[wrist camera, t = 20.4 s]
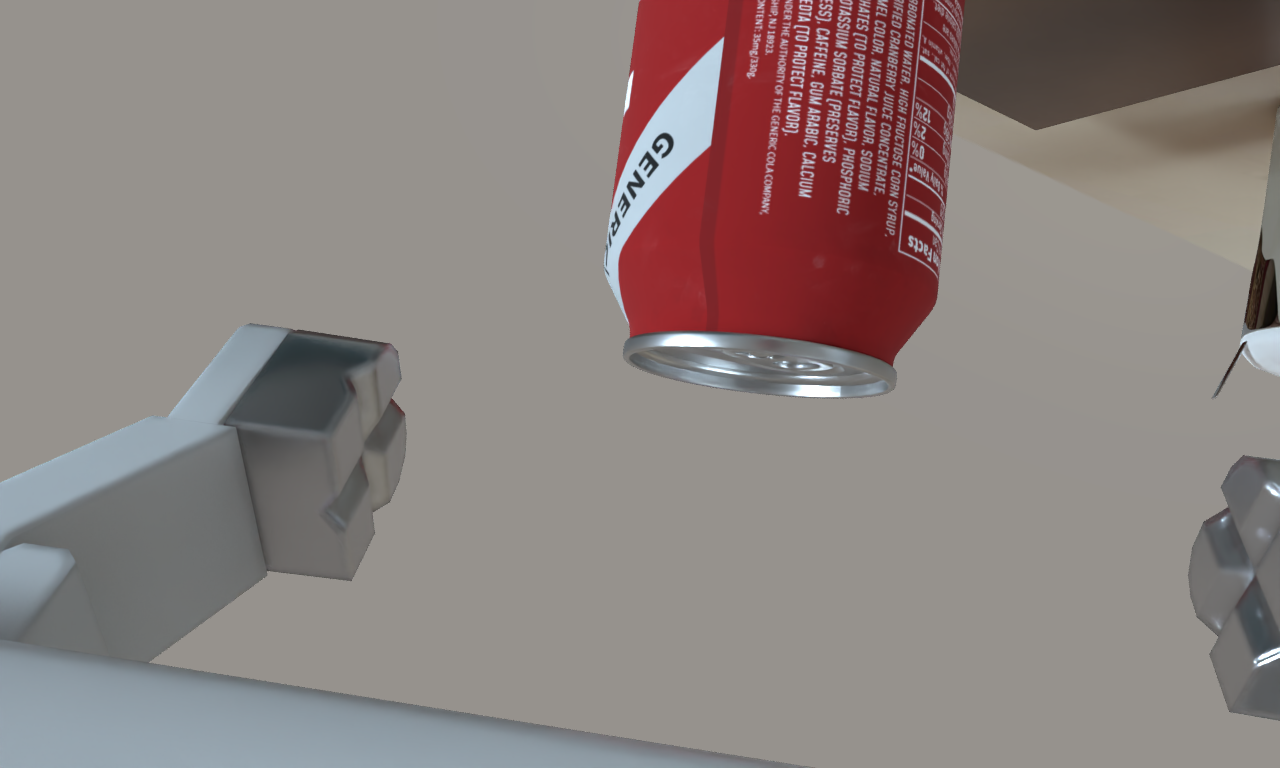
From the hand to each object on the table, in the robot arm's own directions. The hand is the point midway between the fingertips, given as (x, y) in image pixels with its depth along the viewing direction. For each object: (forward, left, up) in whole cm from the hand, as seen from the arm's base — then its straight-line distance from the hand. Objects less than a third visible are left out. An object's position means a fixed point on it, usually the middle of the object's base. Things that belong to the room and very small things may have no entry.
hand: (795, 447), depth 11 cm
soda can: (0, +11, -15) cm, 18 cm away
